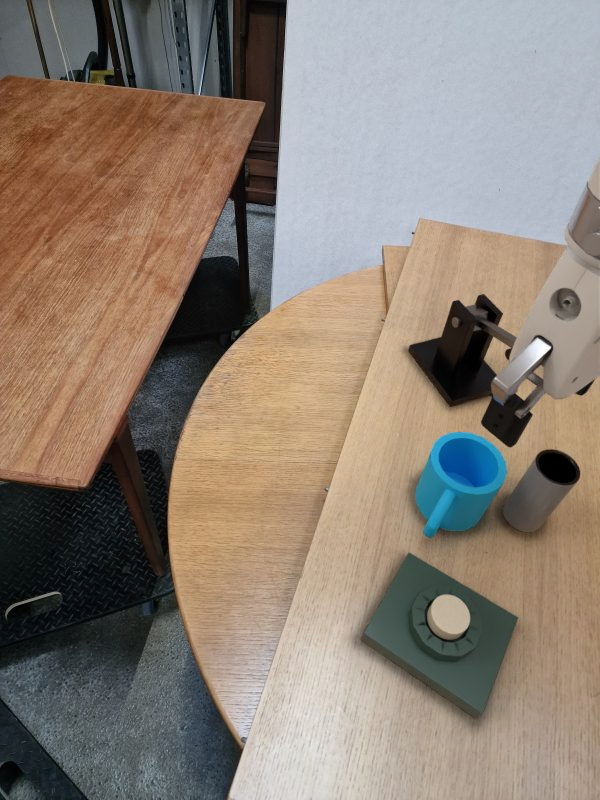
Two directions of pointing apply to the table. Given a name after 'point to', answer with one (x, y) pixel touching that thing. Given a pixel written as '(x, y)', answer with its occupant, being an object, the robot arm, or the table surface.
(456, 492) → the mug
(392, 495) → the table surface
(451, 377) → the lever bracket
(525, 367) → the robot arm
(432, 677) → the button housing
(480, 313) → the press lever
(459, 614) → the stop button
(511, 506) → the grey hollow cylinder
